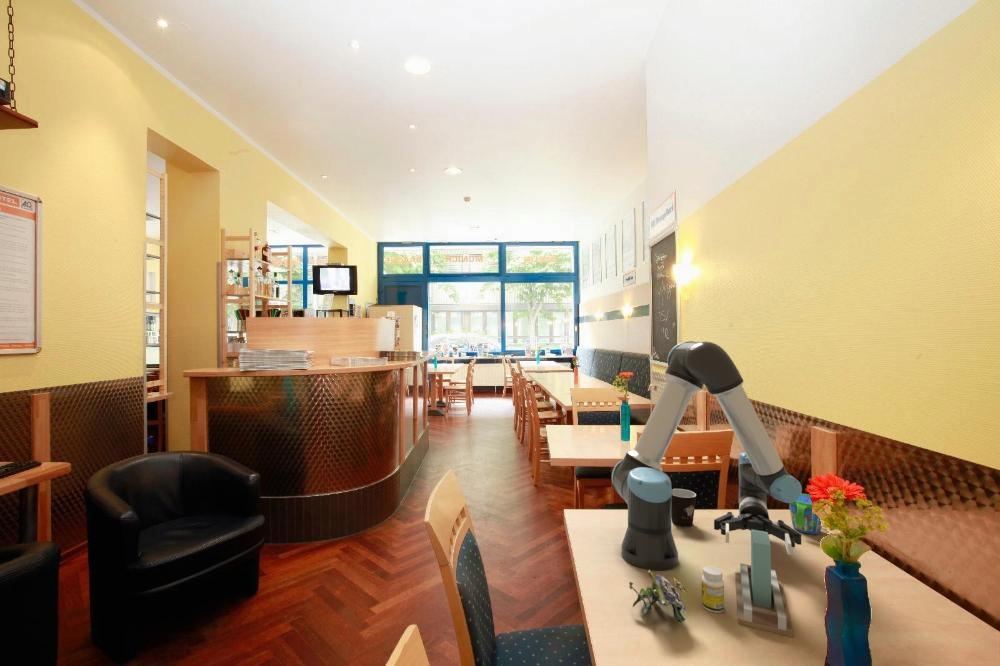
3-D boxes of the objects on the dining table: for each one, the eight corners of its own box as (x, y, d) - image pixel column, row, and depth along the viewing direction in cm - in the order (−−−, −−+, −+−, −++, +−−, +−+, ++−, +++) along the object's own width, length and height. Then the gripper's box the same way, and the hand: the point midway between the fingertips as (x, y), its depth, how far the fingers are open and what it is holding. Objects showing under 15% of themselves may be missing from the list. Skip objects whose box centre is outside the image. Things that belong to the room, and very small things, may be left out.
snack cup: (816, 542, 137) (816, 508, 137) (778, 530, 146) (778, 498, 146) (834, 529, 147) (834, 498, 147) (797, 519, 155) (797, 489, 155)
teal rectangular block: (751, 587, 110) (751, 529, 110) (767, 591, 108) (767, 532, 109) (753, 604, 103) (753, 542, 103) (771, 608, 101) (771, 545, 101)
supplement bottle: (703, 599, 107) (703, 563, 107) (726, 605, 104) (726, 568, 104) (699, 608, 103) (699, 571, 103) (722, 616, 100) (722, 577, 100)
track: (735, 576, 117) (735, 562, 117) (780, 585, 113) (780, 571, 113) (738, 623, 97) (738, 607, 97) (793, 637, 93) (793, 620, 93)
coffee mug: (691, 518, 155) (691, 489, 155) (700, 529, 146) (700, 498, 146) (656, 517, 156) (656, 488, 156) (662, 527, 147) (662, 496, 148)
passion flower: (677, 644, 99) (701, 618, 92) (629, 636, 98) (649, 610, 91) (665, 591, 108) (686, 564, 101) (621, 584, 107) (639, 556, 101)
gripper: (804, 535, 127) (817, 570, 108) (707, 519, 138) (703, 547, 119) (804, 508, 127) (817, 538, 108) (706, 494, 138) (703, 519, 119)
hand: (757, 543), depth 113 cm, fingers open, 13 cm apart
